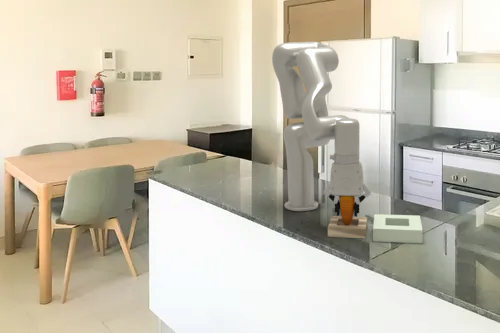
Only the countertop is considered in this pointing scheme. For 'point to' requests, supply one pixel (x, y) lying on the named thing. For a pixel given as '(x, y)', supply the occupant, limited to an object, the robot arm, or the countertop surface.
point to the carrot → (347, 208)
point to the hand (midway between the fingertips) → (347, 214)
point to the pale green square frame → (397, 228)
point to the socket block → (347, 227)
